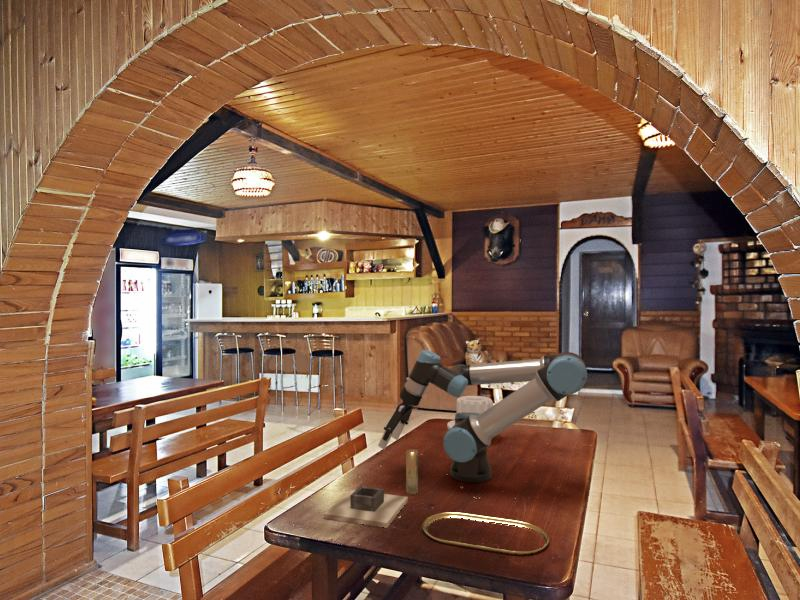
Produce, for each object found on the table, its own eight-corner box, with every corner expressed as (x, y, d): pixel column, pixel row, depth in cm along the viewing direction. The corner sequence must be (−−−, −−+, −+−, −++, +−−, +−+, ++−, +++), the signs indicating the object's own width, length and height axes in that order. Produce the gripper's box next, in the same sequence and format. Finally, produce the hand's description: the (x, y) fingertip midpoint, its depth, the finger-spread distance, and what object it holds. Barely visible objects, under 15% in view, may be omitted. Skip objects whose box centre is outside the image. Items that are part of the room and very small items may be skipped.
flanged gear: (513, 439, 237) (513, 398, 237) (479, 451, 220) (479, 407, 220) (470, 429, 255) (470, 391, 255) (436, 439, 238) (436, 398, 238)
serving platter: (546, 563, 130) (546, 556, 130) (413, 541, 141) (413, 535, 141) (550, 530, 147) (550, 525, 147) (432, 513, 159) (432, 508, 159)
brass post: (419, 490, 176) (419, 449, 176) (416, 495, 172) (416, 453, 172) (408, 489, 178) (408, 448, 177) (404, 493, 174) (404, 452, 174)
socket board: (407, 501, 167) (407, 484, 167) (386, 528, 148) (386, 509, 148) (350, 494, 173) (350, 477, 173) (323, 518, 154) (323, 500, 154)
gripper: (414, 381, 197) (390, 429, 199) (392, 391, 173) (366, 445, 176) (431, 391, 194) (407, 439, 197) (411, 402, 171) (384, 457, 173)
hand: (387, 442), depth 186 cm, fingers open, 13 cm apart
